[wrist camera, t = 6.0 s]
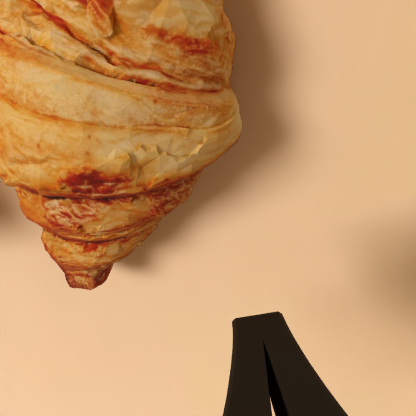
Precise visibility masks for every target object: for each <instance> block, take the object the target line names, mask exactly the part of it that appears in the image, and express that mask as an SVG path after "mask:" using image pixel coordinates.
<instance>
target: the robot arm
mask: <svg viewBox="0 0 416 416" xmlns="http://www.w3.org/2000/svg"><path fill="white" fill-rule="evenodd" d="M232 326H233V350H232V361H231V370H230V377H229V384H228V391H227V397H226V403H225V408H224V413H223V416H272V411H271V403H270V398H271V402H272V405H273V409H274V412H275V415H276V416H348V415H347V414H346V412H345V411H344V410H343V409H342V407H341V406H340V405H339V403H338V402H337V401H336V399H335V398H334V397H333V395H332V394H331V393H330V391H329V390H328V389H327V387H326V386H325V384H324V383H323V382H322V380H321V379H320V377H319V376H318V374H317V373H316V371H315V370H314V369H313V367H312V366H311V364H310V363H309V361H308V360H307V358H306V357H305V355H304V353H303V352H302V350H301V348H300V347H299V345H298V344H297V342H296V340H295V338H294V337H293V335H292V333H291V331H290V329H289V328H288V326H287V324H286V322H285V319H284V317H283V315H282V314H281V313H280V312H272V313H266V314H259V315H253V316H247V317H241V318H235V319H234V320H233V321H232Z"/></svg>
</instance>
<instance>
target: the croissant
mask: <svg viewBox="0 0 416 416" xmlns="http://www.w3.org/2000/svg"><path fill="white" fill-rule="evenodd" d="M234 49H235V34H234V32H233V31H232V27H231V23H230V20H229V19H228V18H227V17H226V15H225V13H224V9H223V0H0V177H1V178H2V179H3V181H4V183H5V184H6V185H8V186H14V188H15V190H16V192H17V194H18V197H19V200H20V207H21V209H22V211H23V213H24V214H25V216H26V217H27V218H28V219H29V220H31V221H33V222H35V223H37V224H38V225H40V226H41V227H43V233H42V236H41V239H42V242H43V244H44V247H45V250H46V251H47V252H48V253H49V255H50V256H51V258H52V259H53V260H54V261H55V262H56V263H57V264H58V266H59V267H60V268H61V269H62V270H63V272H64V273H65V277H66V280H67V282H68V284H69V286H70V287H72V288H82V289H88V290H92V289H94V288H96V287H97V286H99V285H101V284H103V283H104V282H105V281H106V280H107V278H108V275H109V273H110V271H111V269H112V266H113V263H115V262H118V261H120V260H121V259H122V258H124V257H126V256H128V255H129V254H130V253H131V252H132V251H133V250H134V249H135V247H136V246H138V245H141V244H142V242H143V241H144V240H145V239H146V238H147V237H148V236H149V235H150V234H151V233H152V231H153V230H155V229H156V228H157V223H158V222H159V221H160V220H161V219H162V218H163V217H164V216H166V215H167V213H170V212H171V211H172V210H173V209H174V208H175V207H177V206H178V205H179V204H180V203H183V202H185V201H186V200H187V199H188V197H189V196H190V194H191V192H192V190H193V186H194V184H195V182H196V181H197V179H198V178H199V176H200V174H201V172H202V170H203V168H204V167H206V166H208V165H209V164H211V163H212V162H214V161H215V160H216V159H217V158H219V157H220V156H221V155H222V154H223V153H225V152H226V151H227V150H228V149H229V148H230V147H231V146H232V145H234V144H235V143H236V142H237V140H238V139H239V137H240V134H241V130H242V126H243V124H242V119H241V116H240V114H239V112H240V106H239V103H238V101H237V98H236V96H235V94H234V92H233V90H232V88H231V87H230V86H229V82H230V75H231V71H232V62H233V55H234Z"/></svg>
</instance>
